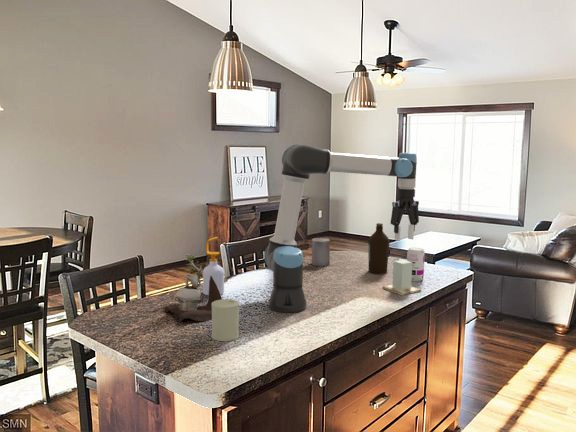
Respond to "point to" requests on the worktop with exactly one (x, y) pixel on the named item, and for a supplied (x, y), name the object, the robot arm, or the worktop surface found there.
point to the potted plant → (194, 297)
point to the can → (225, 320)
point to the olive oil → (378, 251)
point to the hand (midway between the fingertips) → (403, 239)
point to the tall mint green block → (402, 274)
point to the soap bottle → (213, 272)
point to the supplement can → (416, 263)
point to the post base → (401, 292)
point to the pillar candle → (320, 251)
